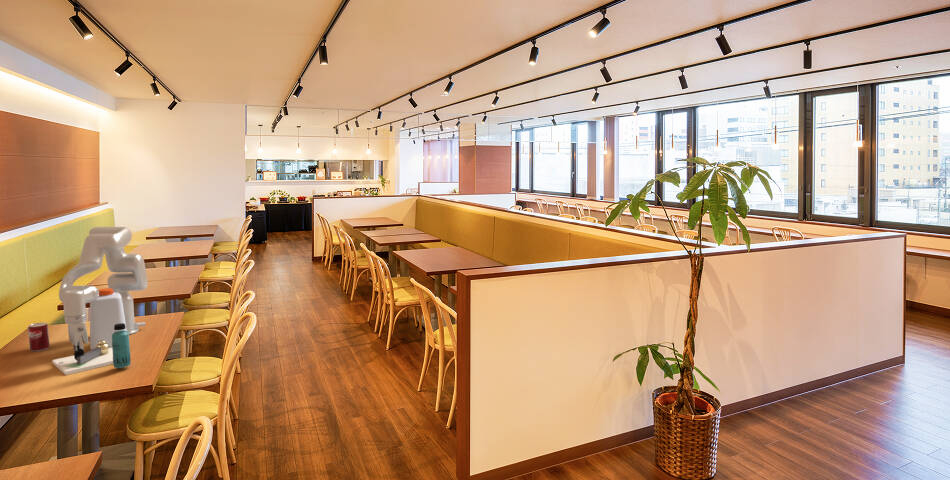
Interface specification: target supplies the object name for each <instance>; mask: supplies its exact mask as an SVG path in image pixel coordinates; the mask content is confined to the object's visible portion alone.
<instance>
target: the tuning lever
mask: <svg viewBox="0 0 950 480" xmlns="http://www.w3.org/2000/svg"><path fill="white" fill-rule="evenodd" d="M106 353H108V343H106V341H105V340H101V341H98V344H97V345H96V348H94V349H92V350H91V349H90V350H89V351H86V352H84V354H82V355H80V356H78V357H77V364H82V363H84V362H86V361H88V360H90V359H92V358H94V357H96V356H98V355H101V354H106Z"/></svg>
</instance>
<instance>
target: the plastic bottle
mask: <svg viewBox="0 0 950 480" xmlns="http://www.w3.org/2000/svg"><path fill="white" fill-rule="evenodd" d="M98 290H99V296H98V298H97V299H96V300H95V301H93V302H90V303H89V347H90V350H92V349H94V348H96V345H97V344H98V341H101V340H105V341H106V343H108V348H111V347H112V334H113V333H114V332H116V331H121V330H114V325H115V324H119V323H124V324H125V327H126V322H125V316H124V310H123V303H122V297H121V295H120V294H119V293H113V289H111V288H109V287H108V288H107V287H106V288H101V289H98ZM123 330H124V331H127V329H126V328H125V329H123Z"/></svg>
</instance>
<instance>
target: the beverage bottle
mask: <svg viewBox="0 0 950 480" xmlns="http://www.w3.org/2000/svg"><path fill="white" fill-rule="evenodd" d="M125 328H126V327H125V324H124V323H119V324H115V325H114V330H121V331H116V332H114V333H113V334H112V349H113V353H112V354H113V364H112V365H113V368H115V369H122V368H128V367H129V366H131V361H132V360H131V358H132V357H131V348H130V346H131V345H130V334H129V333H128V332H127V331H124V330H123V329H125Z"/></svg>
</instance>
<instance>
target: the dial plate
mask: <svg viewBox="0 0 950 480" xmlns="http://www.w3.org/2000/svg"><path fill="white" fill-rule="evenodd" d="M112 353H113V349H112V347H111V348H108V353H106V354H101V355H98V356H96V357H94V358H92V359H90V360H88V361H86V362H84V363H82V364H77V360H75V358H74V355H69V356H66V357H60V358H55V359H52V360H51V361H52V362H51V363H52V364H53V365H54V366H55V367H56V368H57V369H58V370H59V371H60V372H62V373H63V375H65V376H68V375H73V374H76V373H82V372H87V371H89V370H90V371H91V370H93V369H98V368H103V367H107V366H111V364H112V365H114V364H113V354H112Z"/></svg>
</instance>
